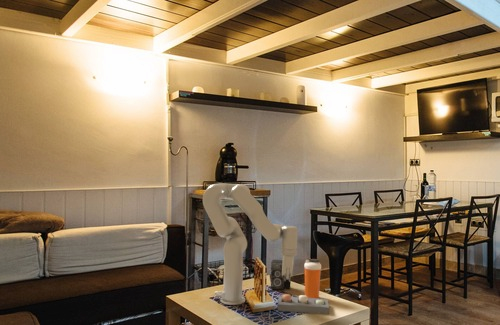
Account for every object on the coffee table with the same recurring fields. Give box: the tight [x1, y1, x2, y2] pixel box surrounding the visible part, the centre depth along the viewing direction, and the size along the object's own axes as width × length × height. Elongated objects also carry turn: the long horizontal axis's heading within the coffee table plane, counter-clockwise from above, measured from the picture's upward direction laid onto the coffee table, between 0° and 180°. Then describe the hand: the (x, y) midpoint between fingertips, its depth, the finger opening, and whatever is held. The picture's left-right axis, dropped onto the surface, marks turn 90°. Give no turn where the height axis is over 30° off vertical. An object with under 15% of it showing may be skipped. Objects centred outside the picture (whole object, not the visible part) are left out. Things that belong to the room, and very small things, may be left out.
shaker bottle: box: [303, 257, 322, 299], centre depth 214 cm, size 9×9×20 cm
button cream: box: [298, 294, 307, 304], centre depth 198 cm, size 4×4×3 cm
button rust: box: [282, 293, 292, 303], centre depth 199 cm, size 4×4×3 cm
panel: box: [277, 295, 330, 315], centre depth 198 cm, size 24×12×3 cm, turn 84°
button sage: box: [316, 300, 324, 305], centre depth 197 cm, size 4×4×3 cm
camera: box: [269, 259, 285, 291], centre depth 227 cm, size 10×10×15 cm
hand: (286, 288), depth 199 cm, fingers closed
